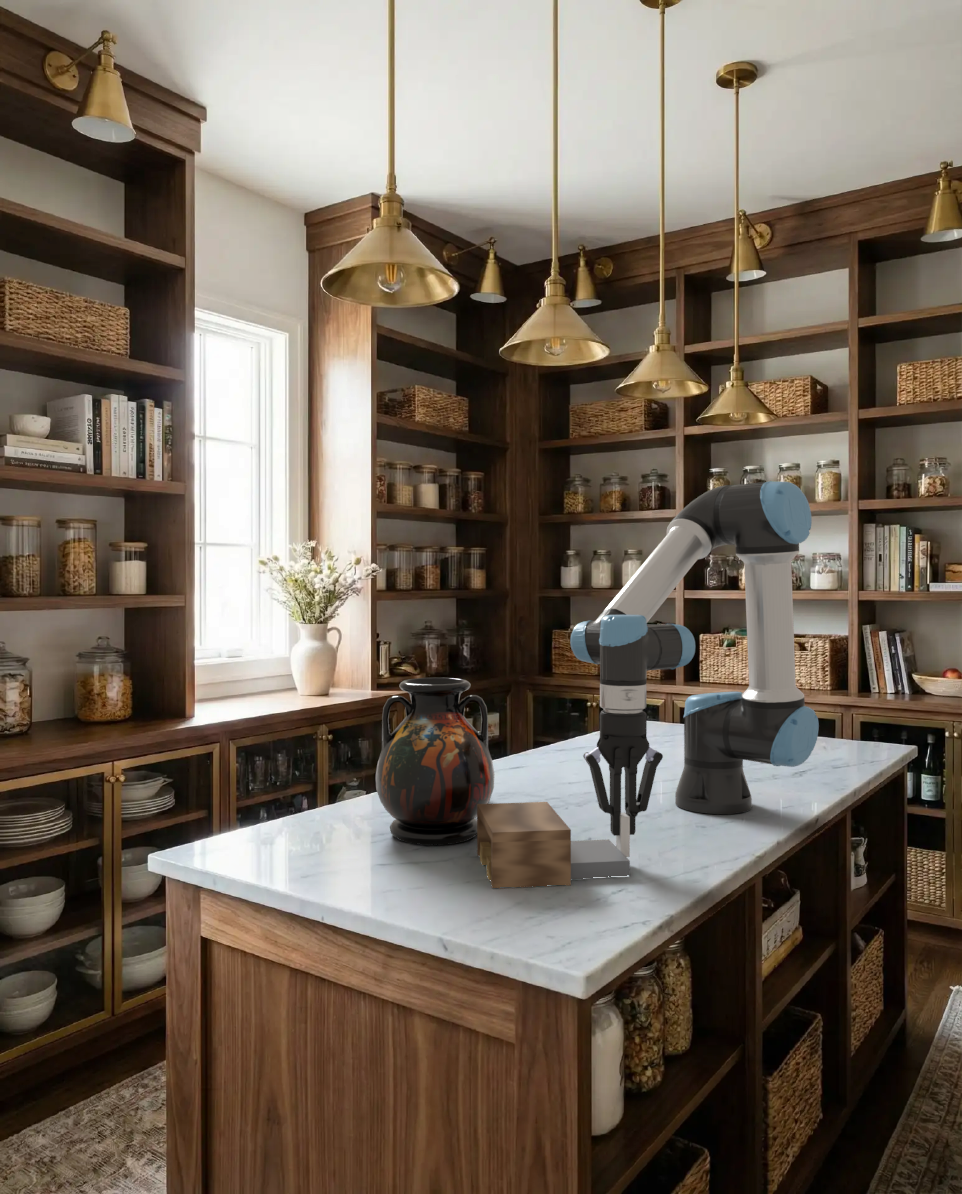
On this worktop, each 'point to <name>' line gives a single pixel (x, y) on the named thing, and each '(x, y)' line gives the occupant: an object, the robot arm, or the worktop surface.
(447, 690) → the amphora vase
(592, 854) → the slate board
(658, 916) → the worktop surface
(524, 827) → the walnut shelf
